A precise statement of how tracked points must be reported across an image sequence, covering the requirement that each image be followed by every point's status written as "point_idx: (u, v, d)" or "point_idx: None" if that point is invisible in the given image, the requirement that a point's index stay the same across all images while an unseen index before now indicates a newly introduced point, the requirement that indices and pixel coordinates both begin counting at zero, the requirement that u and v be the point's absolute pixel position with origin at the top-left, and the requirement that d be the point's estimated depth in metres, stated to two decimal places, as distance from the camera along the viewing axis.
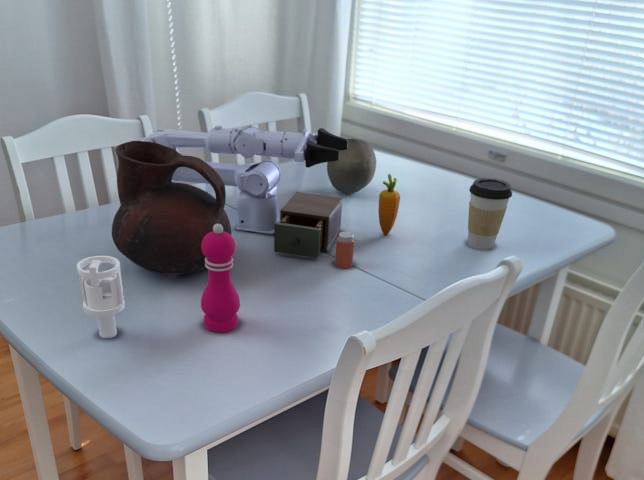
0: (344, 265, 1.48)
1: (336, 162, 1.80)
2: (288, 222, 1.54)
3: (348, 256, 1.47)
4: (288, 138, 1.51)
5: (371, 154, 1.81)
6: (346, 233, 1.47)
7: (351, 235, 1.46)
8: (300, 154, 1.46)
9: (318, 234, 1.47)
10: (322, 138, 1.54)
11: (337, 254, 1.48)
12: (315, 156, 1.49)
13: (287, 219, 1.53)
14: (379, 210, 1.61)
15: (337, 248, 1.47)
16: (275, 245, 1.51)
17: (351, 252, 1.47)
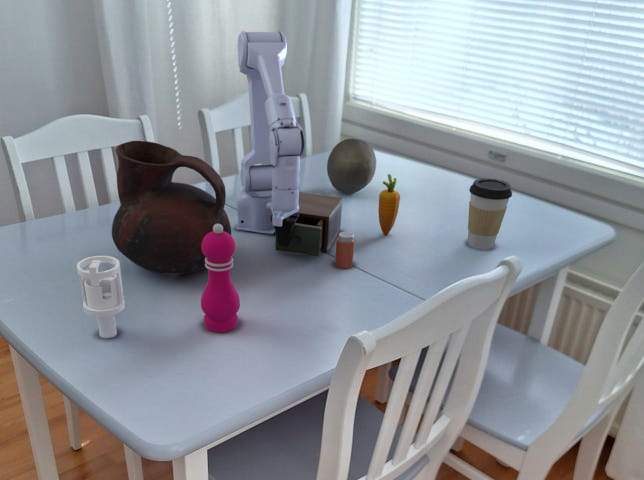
0: (344, 265, 1.48)
1: (336, 162, 1.80)
2: None
3: (348, 256, 1.47)
4: None
5: (371, 154, 1.81)
6: (346, 233, 1.47)
7: (351, 235, 1.46)
8: None
9: (319, 232, 1.48)
10: None
11: (337, 254, 1.48)
12: None
13: None
14: (379, 210, 1.61)
15: (337, 248, 1.47)
16: (276, 243, 1.52)
17: (351, 252, 1.47)
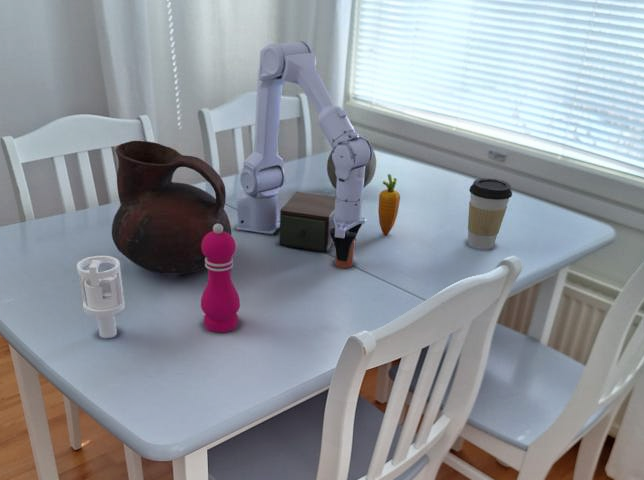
0: (344, 265, 1.48)
1: None
2: (294, 215, 1.58)
3: (348, 256, 1.47)
4: (356, 207, 1.40)
5: None
6: None
7: None
8: (342, 235, 1.39)
9: (324, 226, 1.51)
10: (352, 228, 1.47)
11: None
12: (341, 238, 1.44)
13: None
14: (379, 210, 1.61)
15: None
16: (282, 237, 1.55)
17: (351, 252, 1.47)
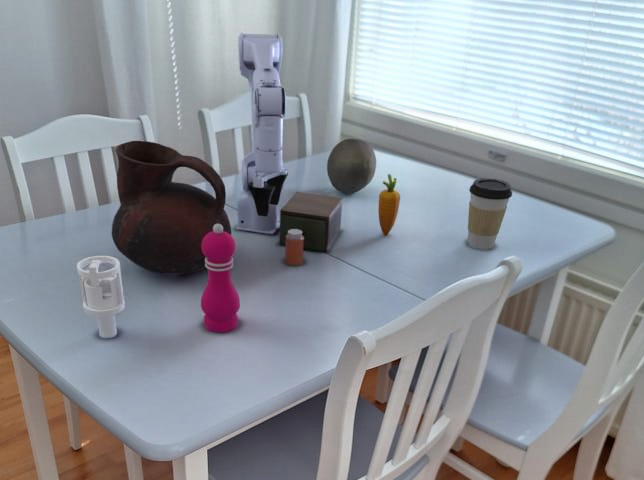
0: (293, 262, 1.48)
1: (336, 162, 1.80)
2: (294, 215, 1.58)
3: (297, 253, 1.47)
4: (276, 157, 1.39)
5: (371, 154, 1.81)
6: (295, 230, 1.47)
7: (300, 232, 1.46)
8: (260, 185, 1.38)
9: (324, 226, 1.51)
10: (277, 178, 1.48)
11: (286, 251, 1.48)
12: (259, 192, 1.42)
13: None
14: (379, 210, 1.61)
15: (286, 245, 1.47)
16: (282, 237, 1.55)
17: (300, 249, 1.47)
